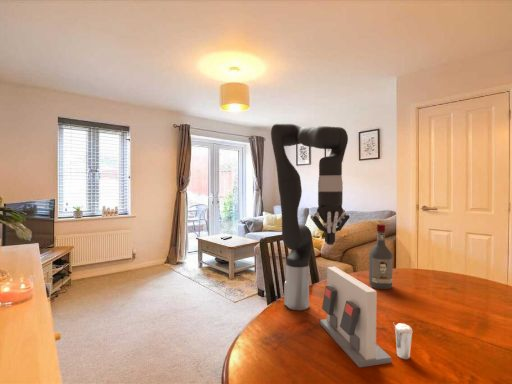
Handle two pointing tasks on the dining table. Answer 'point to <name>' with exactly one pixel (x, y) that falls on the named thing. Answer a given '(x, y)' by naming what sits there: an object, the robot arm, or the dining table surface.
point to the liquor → (380, 262)
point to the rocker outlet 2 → (350, 318)
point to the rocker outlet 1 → (329, 300)
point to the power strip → (364, 337)
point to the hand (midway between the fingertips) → (329, 244)
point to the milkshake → (403, 340)
